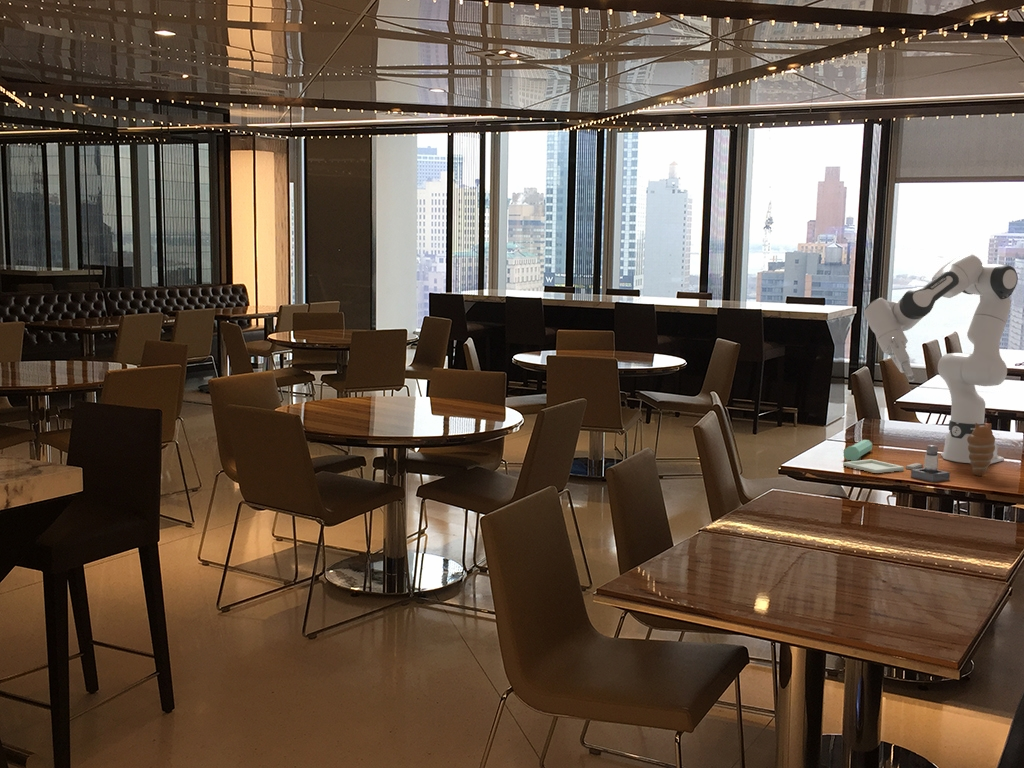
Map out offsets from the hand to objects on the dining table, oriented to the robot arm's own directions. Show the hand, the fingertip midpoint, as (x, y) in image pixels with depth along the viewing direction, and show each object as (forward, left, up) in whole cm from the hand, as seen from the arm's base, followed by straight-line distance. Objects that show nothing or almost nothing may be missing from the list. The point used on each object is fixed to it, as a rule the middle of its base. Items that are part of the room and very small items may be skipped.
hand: (911, 378), depth 327 cm
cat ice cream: (-19, +15, -33) cm, 40 cm away
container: (-9, -27, -33) cm, 43 cm away
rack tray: (+6, -8, -32) cm, 34 cm away
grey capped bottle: (+1, +11, -32) cm, 34 cm away
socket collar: (+1, +11, -32) cm, 34 cm away
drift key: (-9, -3, -33) cm, 34 cm away
